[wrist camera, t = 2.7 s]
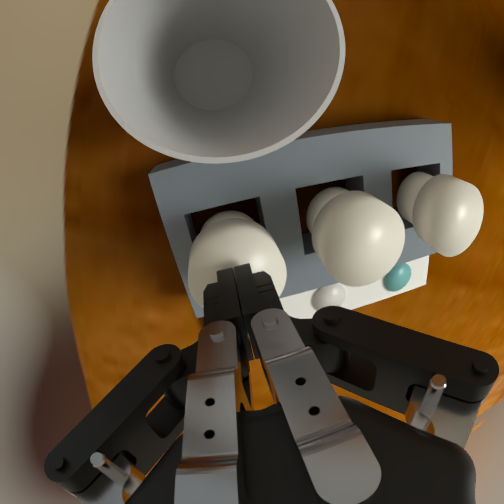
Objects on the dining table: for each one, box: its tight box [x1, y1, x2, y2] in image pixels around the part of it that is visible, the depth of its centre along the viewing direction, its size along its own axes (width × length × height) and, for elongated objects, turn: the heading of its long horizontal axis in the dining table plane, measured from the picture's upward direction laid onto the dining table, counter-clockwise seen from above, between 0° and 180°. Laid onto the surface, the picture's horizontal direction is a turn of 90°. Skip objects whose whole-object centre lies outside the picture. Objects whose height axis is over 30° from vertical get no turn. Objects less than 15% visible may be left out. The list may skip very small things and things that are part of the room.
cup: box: [92, 0, 345, 164], centre depth 12 cm, size 8×8×10 cm
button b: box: [306, 187, 405, 287], centre depth 16 cm, size 5×5×5 cm
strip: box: [279, 255, 429, 319], centre depth 24 cm, size 20×4×1 cm, turn 102°
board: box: [148, 119, 452, 318], centre depth 20 cm, size 20×10×3 cm, turn 102°
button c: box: [188, 210, 287, 309], centre depth 16 cm, size 5×5×5 cm
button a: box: [396, 172, 483, 257], centre depth 17 cm, size 5×5×5 cm
